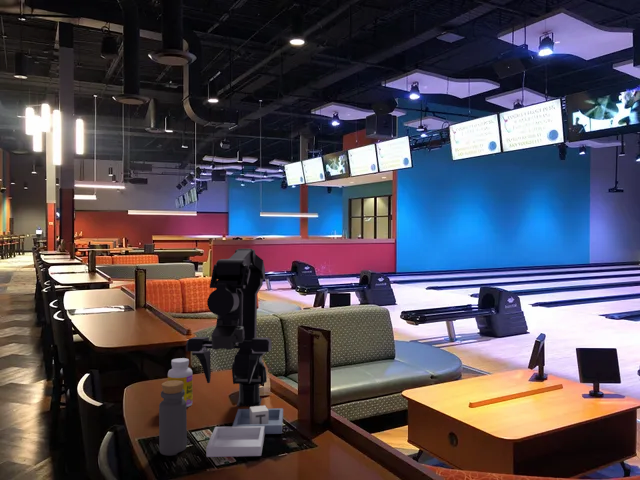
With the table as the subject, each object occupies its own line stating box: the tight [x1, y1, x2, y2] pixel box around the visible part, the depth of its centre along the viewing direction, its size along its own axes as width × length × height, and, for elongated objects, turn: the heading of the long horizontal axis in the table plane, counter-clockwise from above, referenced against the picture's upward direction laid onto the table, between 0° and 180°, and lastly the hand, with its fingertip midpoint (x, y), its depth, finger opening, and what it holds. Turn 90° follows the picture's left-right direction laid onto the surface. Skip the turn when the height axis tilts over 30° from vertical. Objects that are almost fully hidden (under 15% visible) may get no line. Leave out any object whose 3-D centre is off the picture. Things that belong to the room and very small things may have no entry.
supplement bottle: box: [167, 357, 194, 408], centre depth 145 cm, size 7×7×13 cm
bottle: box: [158, 380, 188, 456], centre depth 116 cm, size 6×6×15 cm
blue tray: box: [232, 407, 284, 435], centre depth 130 cm, size 12×12×2 cm
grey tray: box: [205, 426, 266, 458], centre depth 117 cm, size 12×12×2 cm
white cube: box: [249, 404, 269, 424], centre depth 130 cm, size 4×4×4 cm
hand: (228, 383), depth 119 cm, fingers open, 9 cm apart
